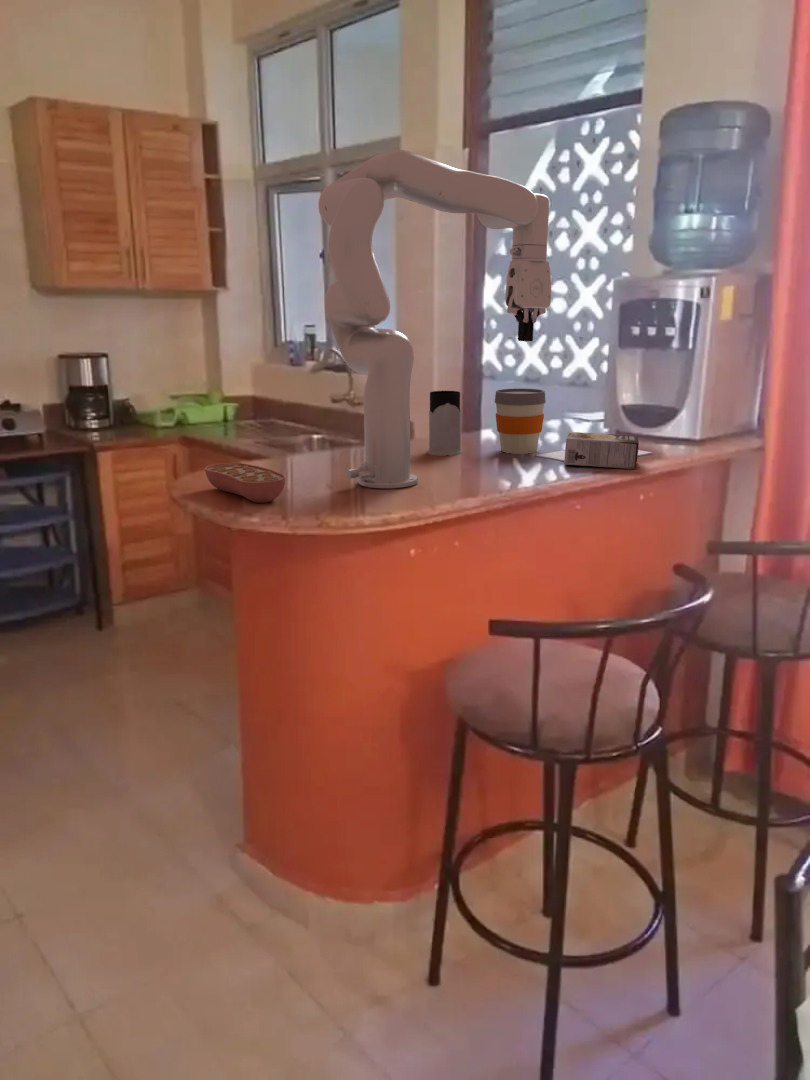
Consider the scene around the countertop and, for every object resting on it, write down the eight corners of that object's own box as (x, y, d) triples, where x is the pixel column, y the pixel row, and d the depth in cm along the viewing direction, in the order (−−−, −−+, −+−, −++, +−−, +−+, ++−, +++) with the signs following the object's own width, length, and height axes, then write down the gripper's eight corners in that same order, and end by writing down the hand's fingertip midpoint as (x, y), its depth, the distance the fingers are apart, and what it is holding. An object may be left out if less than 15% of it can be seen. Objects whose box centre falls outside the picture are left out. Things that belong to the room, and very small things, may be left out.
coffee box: (568, 430, 205) (638, 434, 202) (566, 457, 207) (635, 461, 203) (565, 438, 196) (639, 442, 193) (563, 465, 198) (636, 470, 195)
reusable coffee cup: (539, 456, 212) (540, 394, 208) (488, 454, 216) (489, 393, 212) (547, 448, 223) (549, 388, 219) (499, 445, 227) (501, 387, 223)
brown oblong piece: (199, 490, 181) (197, 466, 179) (242, 483, 187) (240, 460, 185) (253, 510, 163) (251, 484, 162) (298, 502, 169) (297, 477, 168)
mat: (586, 465, 200) (586, 464, 200) (536, 456, 212) (536, 455, 212) (652, 453, 214) (652, 452, 214) (601, 445, 226) (601, 444, 226)
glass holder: (430, 456, 214) (430, 394, 210) (422, 446, 228) (421, 388, 224) (465, 454, 215) (465, 393, 211) (454, 445, 229) (455, 387, 225)
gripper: (515, 252, 183) (511, 342, 188) (565, 255, 192) (560, 341, 196) (492, 254, 189) (488, 340, 194) (541, 257, 198) (537, 340, 202)
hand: (525, 340), depth 195 cm, fingers closed
